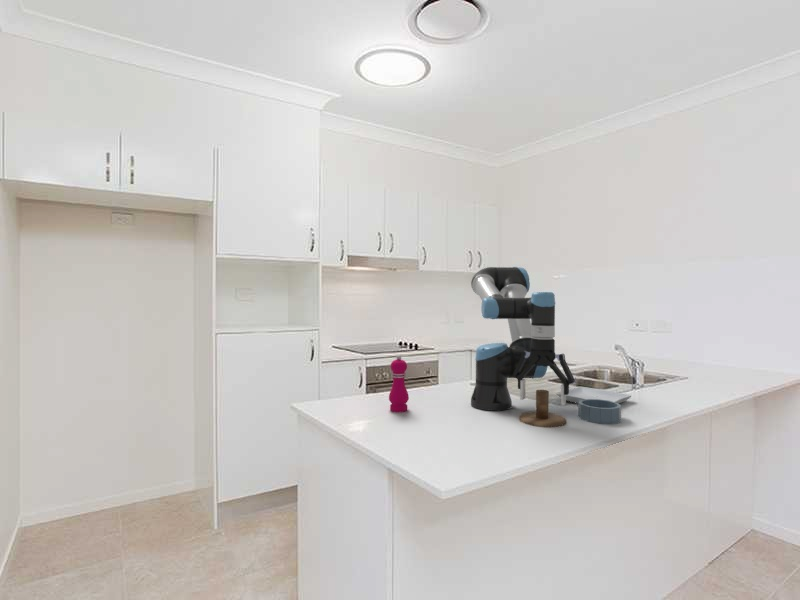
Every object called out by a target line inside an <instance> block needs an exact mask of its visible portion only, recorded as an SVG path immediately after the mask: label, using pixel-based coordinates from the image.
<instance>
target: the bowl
mask: <svg viewBox="0 0 800 600" xmlns="http://www.w3.org/2000/svg"><path fill="white" fill-rule="evenodd" d="M578 416H579V417H580V418H581V419H580V418H579V417H578ZM577 417H578V418H579V419H580V420H582V419H583V420H582V421H585V420H586V421H585V422H589V423H593V422H594V424H600V425H603V424H604V425H613V423H615V424H619V423H621V421H622V404H620V403H616V402H612V401H608V400H600V399H585V400H580V401H579V402H578V404H577ZM618 422H619V423H618Z"/></svg>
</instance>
